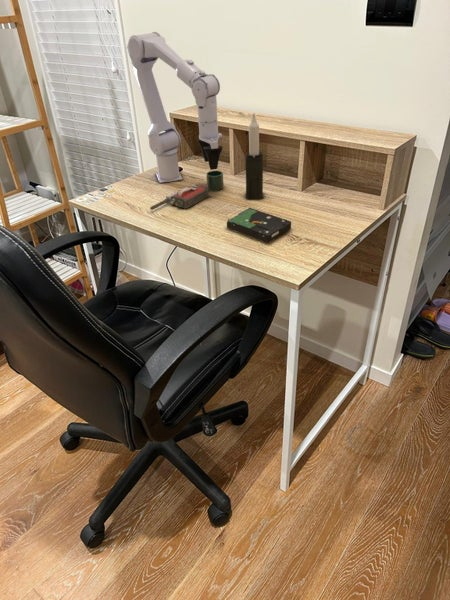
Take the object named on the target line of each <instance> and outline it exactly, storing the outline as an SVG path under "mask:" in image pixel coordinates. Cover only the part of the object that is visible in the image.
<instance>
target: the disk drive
mask: <svg viewBox="0 0 450 600" xmlns="http://www.w3.org/2000/svg"><path fill="white" fill-rule="evenodd" d="M226 228H227V229H229V230H231V231H234V232H237V233H239V234H242V235H245V236H247V237H249V238H252V239H255V240H258V241H260V242H263V243H267V244H269V243H271V242H273V241H274V240H276V239H278V238H280V237H281V236H283V235H285V234H286V233H288V232H289V231H290V230H292V221H291V220H288V219H286V218H282V217H279V216H276V215H273V214H270V213H266V212H264V211H261V210H258V209H255V208H252V207H248V208H247V209H245V210H243V211H240V212H239V213H237V214H236V215H234V216H233V217H231V218H227V221H226Z"/></svg>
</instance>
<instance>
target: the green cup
mask: <svg viewBox="0 0 450 600" xmlns="http://www.w3.org/2000/svg"><path fill="white" fill-rule="evenodd" d="M205 178H206V187H207V188H208V191H212V192H219V191H222V190H223V189H224V185H225V184H224V172H223V171H222V170H210V171H207V172H206V174H205Z"/></svg>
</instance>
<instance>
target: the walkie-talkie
mask: <svg viewBox="0 0 450 600" xmlns="http://www.w3.org/2000/svg"><path fill="white" fill-rule="evenodd" d="M207 198H209V189H208V188H207V186H205V185H202V184H198V183H196V184H191V186H189V187H188V186H185V187H183V188H182V189H179V190H177V191H174V192H172V193H170V194H167V195H165V199H164V200H162V201H159V202H157V203H155V204H153V205H152V206H149V209H150V210H151V211H153V210H155V209H157V208H159V207H161V206H162V205H164V204H168V203H170V205H172V206H175V207H177V208H182V209H185V210H186V209H189V208H190V207H192V206H194V205H196V204H198V203H200V202H201V201H203V200H205V199H207Z"/></svg>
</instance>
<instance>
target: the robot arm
mask: <svg viewBox="0 0 450 600" xmlns="http://www.w3.org/2000/svg"><path fill="white" fill-rule="evenodd" d="M126 49H127V53H128V57H129V59H130V63H131V65H132V68H133V72H134V75H135V78H136V81H137V84H138V87H139V90H140V93H141V97H142V100H143V102H144V107H145V108H146V113H147V115H148V118H149V121H150V124H151V126H150V128H149V129H148V132H147V136H148V145H149V149H150V151H151V152H152V153H153V154H154V155H155V156H156V166H157V172H155V175H156V177H157V179H158V182H159V183H160V184H163V183H169V182H176V181H182V180H183V177H182V175H181V173H180V169H179V159H178V151H179V147H181V143H182V140H181V135H180V133H179V132H178V131H177V128H176V126H175V124H174V123H172V122H171V121H169V120H168V118H167V113H166V111H165V109H164V104H163V102H162V99H161V95H160V92H159V89H158V85H157V83H156V79H155V75H154V72H153V67H154V65H155V64H156V63H157V61H158V60H161V61H162V62H164V63H165V64H166V65H167V66H169V67H171V68H172V69H173V70H175V71H176V77H177V78H178V79H179V80H180V81H182V83H184V84H185V85H186V86H187V87H189V89H191V93H192V95H193V97H194V100H195V104H196V106H197V107H196V108H197V120H198V130H199V131H198V132H199V135H198V138H197V139H196V141H197V142H198V144H199V146H200V150H201V152H202V157H203V160H204V162H205V163H208V166H209V169H210V171H214V170H217V169H218V167H219V159H220V156H221V153H222V151H223V146H222V145H219V138H222V137H223V134H222V133H220V132H219V121H218V104H217V103H218V102H217V101H218V100H217V95H218V94H219V93H220V90H221V84H220V81H219V79H218V78H217V76H216V75H215V74H213V73H210V74H208V73H206V72H205V71H204V70H203V69H201V68H200V67H198V66H197V65H196V64H195V62H194V61H193V59H183V58H182V57H181V56H180V55H179V54H177V53H176V51H175V50H173V48H172V47H170V46H169V44H167V43H166V38H165V37H164V36H163V35H161V34H160V33H159V32H157V31H153V32H150V33H144V34H137V35H136V34H133V35H131V36H130V37H129V39H128V42H127V46H126Z"/></svg>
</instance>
